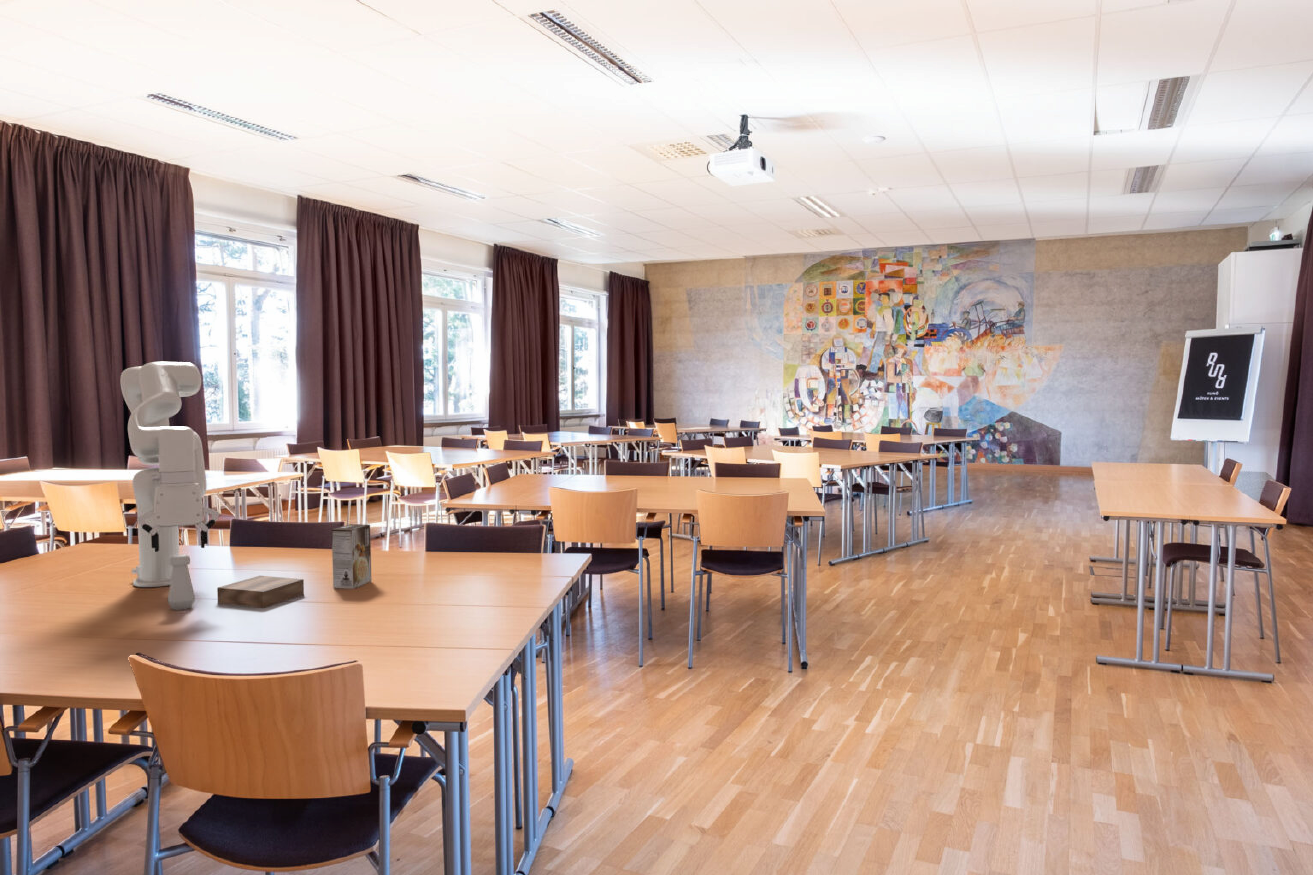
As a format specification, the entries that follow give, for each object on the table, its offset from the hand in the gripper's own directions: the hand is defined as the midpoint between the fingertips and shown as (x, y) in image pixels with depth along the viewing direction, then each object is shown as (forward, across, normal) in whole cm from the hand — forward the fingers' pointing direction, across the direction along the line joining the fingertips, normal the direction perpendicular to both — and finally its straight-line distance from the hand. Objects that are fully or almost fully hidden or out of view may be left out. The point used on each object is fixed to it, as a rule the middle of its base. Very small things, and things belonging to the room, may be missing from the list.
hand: (180, 549), depth 201 cm
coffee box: (+15, +40, +7) cm, 43 cm away
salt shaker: (+15, 0, +1) cm, 15 cm away
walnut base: (+15, +18, +2) cm, 23 cm away
